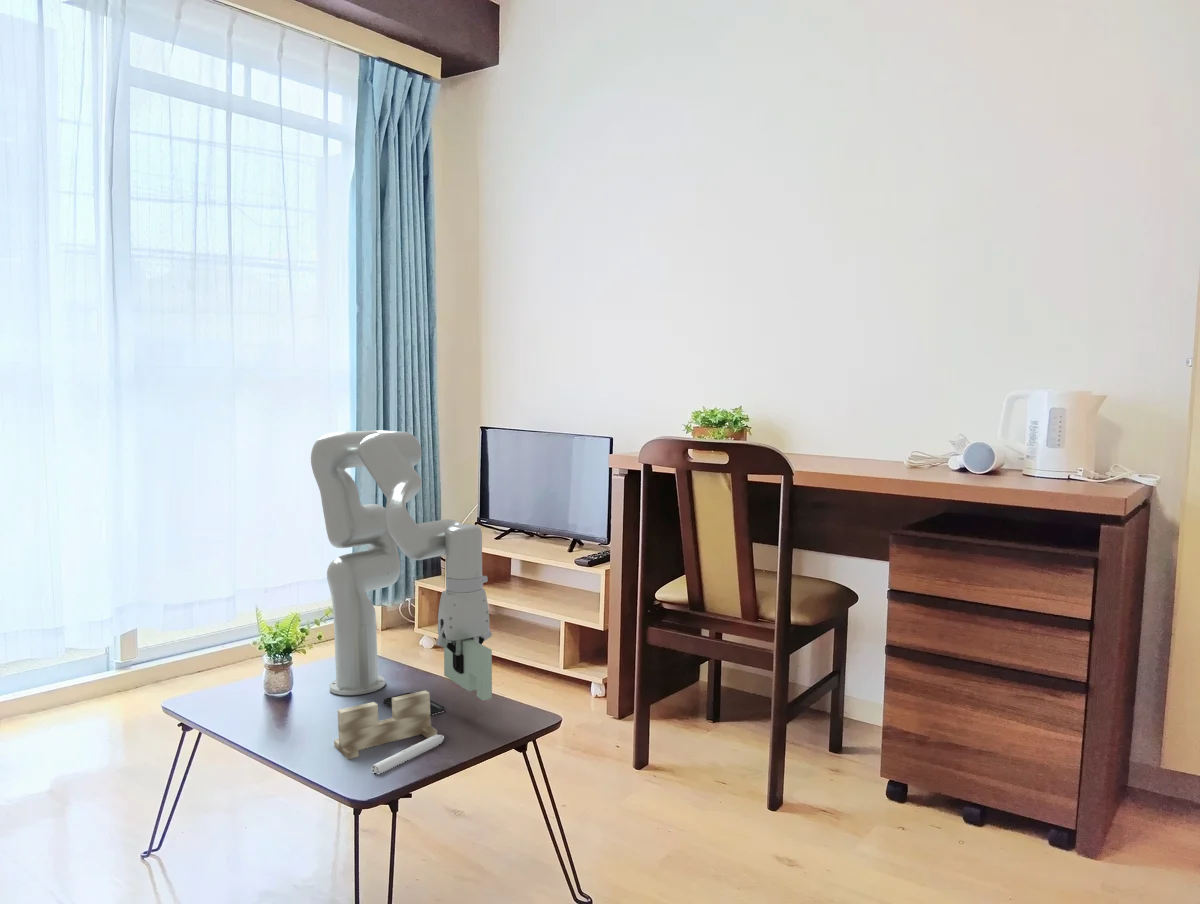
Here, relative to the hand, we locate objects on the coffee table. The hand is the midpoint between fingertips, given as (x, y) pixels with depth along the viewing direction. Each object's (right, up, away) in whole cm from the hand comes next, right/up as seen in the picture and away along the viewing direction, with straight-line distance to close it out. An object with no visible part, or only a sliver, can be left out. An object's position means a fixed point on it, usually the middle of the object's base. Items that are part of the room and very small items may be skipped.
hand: (464, 670), depth 182 cm
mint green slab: (+1, -3, -1) cm, 3 cm away
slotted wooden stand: (-14, -11, -11) cm, 21 cm away
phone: (-12, -11, +8) cm, 18 cm away
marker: (-7, -12, -19) cm, 24 cm away
